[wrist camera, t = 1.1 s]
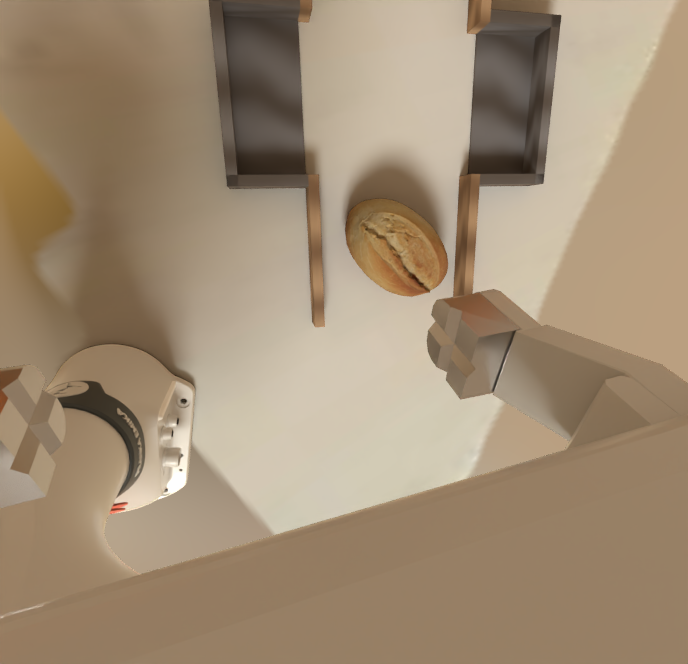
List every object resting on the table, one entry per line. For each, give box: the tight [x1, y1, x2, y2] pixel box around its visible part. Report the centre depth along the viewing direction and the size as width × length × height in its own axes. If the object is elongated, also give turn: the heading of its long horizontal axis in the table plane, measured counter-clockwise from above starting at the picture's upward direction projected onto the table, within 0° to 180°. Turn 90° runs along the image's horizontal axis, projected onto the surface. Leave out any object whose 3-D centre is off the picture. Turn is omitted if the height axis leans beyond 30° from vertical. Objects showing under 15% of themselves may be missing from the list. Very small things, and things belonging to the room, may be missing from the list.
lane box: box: [209, 0, 561, 327], centre depth 46 cm, size 47×39×5 cm
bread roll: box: [345, 199, 448, 296], centre depth 48 cm, size 10×15×8 cm, turn 53°
